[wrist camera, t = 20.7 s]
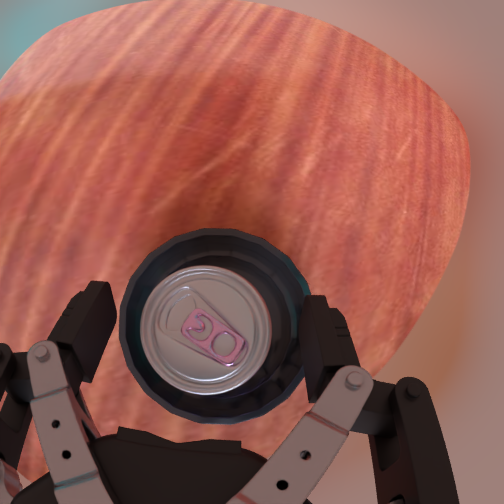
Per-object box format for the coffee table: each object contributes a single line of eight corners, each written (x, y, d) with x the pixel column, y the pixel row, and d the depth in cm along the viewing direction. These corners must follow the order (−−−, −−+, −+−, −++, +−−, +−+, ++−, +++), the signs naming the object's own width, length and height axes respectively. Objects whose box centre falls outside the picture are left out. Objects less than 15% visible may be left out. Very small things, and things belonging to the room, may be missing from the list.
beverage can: (228, 373, 26) (222, 425, 11) (173, 335, 27) (110, 342, 12) (266, 319, 27) (302, 312, 13) (211, 282, 28) (188, 234, 13)
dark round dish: (321, 376, 27) (340, 387, 22) (168, 422, 25) (154, 441, 20) (272, 227, 30) (280, 206, 25) (123, 271, 28) (101, 259, 23)
